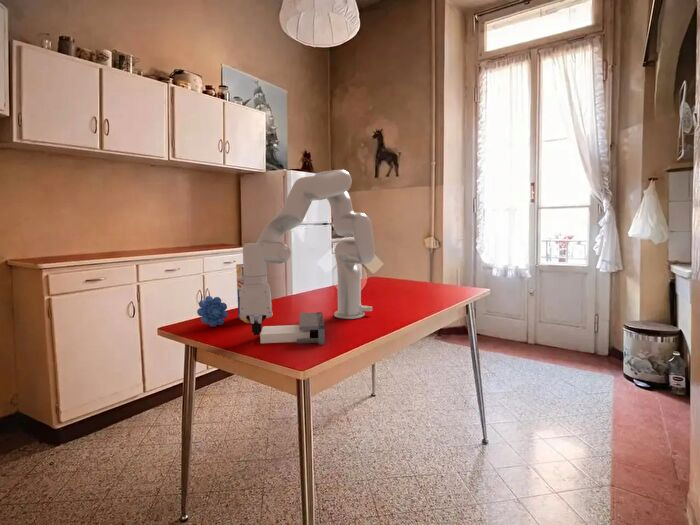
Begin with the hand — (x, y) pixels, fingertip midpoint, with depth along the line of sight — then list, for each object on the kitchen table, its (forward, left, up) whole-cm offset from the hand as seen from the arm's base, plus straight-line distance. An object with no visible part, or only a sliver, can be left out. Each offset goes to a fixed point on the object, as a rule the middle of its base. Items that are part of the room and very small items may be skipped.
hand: (256, 334), depth 133 cm
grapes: (+18, -17, -2) cm, 25 cm away
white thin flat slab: (-10, 0, -2) cm, 10 cm away
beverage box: (+6, -27, -2) cm, 28 cm away
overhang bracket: (-18, 0, -2) cm, 18 cm away
